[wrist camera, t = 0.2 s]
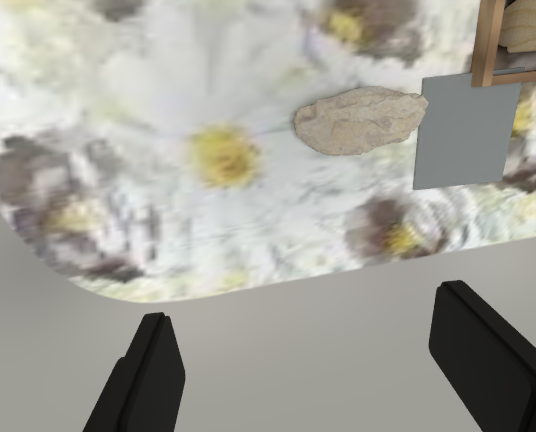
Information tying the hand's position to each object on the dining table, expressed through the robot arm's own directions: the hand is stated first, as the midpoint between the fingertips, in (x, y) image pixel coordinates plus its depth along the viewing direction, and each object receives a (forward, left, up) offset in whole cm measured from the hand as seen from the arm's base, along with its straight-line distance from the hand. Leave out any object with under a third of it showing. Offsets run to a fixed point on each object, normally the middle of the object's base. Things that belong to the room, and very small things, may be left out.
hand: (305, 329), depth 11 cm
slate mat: (0, +25, -31) cm, 40 cm away
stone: (-3, +10, -31) cm, 33 cm away
